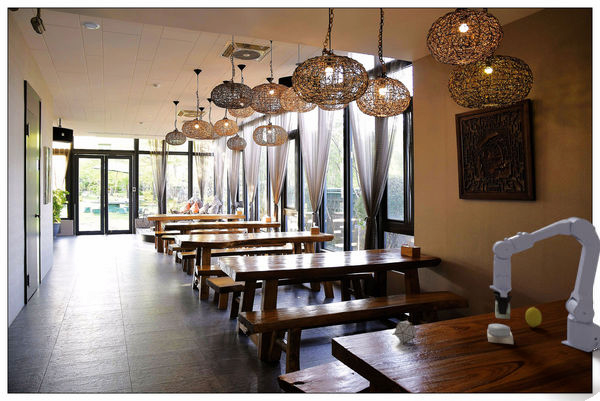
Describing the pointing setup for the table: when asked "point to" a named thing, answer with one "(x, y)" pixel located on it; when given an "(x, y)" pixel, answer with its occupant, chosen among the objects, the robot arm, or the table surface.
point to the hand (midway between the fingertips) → (501, 312)
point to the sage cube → (502, 314)
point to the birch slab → (500, 339)
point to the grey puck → (499, 330)
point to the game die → (405, 331)
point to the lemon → (533, 317)
